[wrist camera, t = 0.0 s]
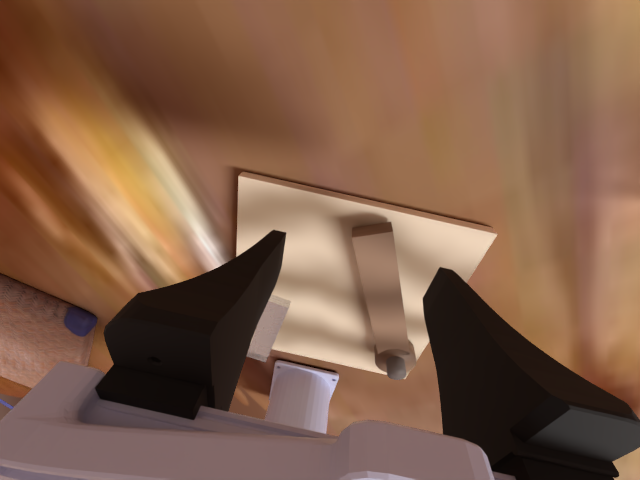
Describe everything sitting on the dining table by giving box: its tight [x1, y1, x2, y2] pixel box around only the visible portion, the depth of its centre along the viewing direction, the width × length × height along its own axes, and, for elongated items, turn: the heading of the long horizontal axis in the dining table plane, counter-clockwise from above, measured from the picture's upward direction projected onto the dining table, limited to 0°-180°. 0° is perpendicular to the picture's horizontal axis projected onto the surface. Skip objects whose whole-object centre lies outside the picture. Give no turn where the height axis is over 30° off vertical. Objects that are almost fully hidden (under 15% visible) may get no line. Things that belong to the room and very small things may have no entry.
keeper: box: [247, 294, 291, 363], centre depth 27 cm, size 8×2×3 cm, turn 160°
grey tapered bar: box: [352, 222, 416, 380], centre depth 25 cm, size 17×4×3 cm, turn 14°
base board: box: [236, 171, 497, 379], centre depth 27 cm, size 20×20×1 cm
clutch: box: [0, 274, 97, 409], centre depth 38 cm, size 28×5×20 cm
